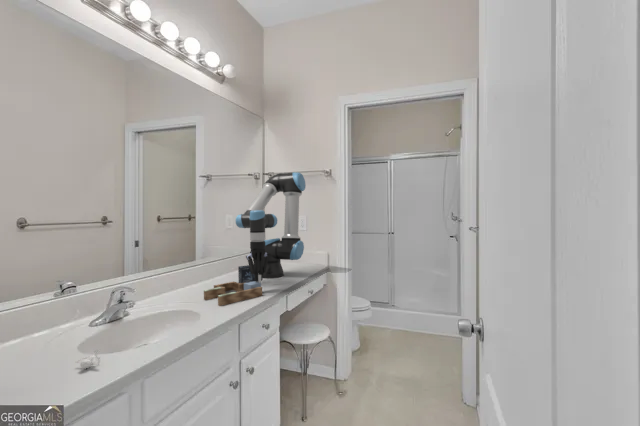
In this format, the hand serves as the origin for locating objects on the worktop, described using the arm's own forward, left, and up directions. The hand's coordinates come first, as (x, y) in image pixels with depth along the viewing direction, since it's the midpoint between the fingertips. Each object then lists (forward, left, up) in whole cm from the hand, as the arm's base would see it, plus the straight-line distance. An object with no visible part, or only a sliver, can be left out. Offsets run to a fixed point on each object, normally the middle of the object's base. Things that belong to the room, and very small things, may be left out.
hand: (258, 287), depth 159 cm
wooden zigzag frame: (+14, -4, -2) cm, 15 cm away
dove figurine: (+75, +32, -2) cm, 81 cm away
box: (-4, -17, -2) cm, 18 cm away
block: (+4, 0, -2) cm, 4 cm away
